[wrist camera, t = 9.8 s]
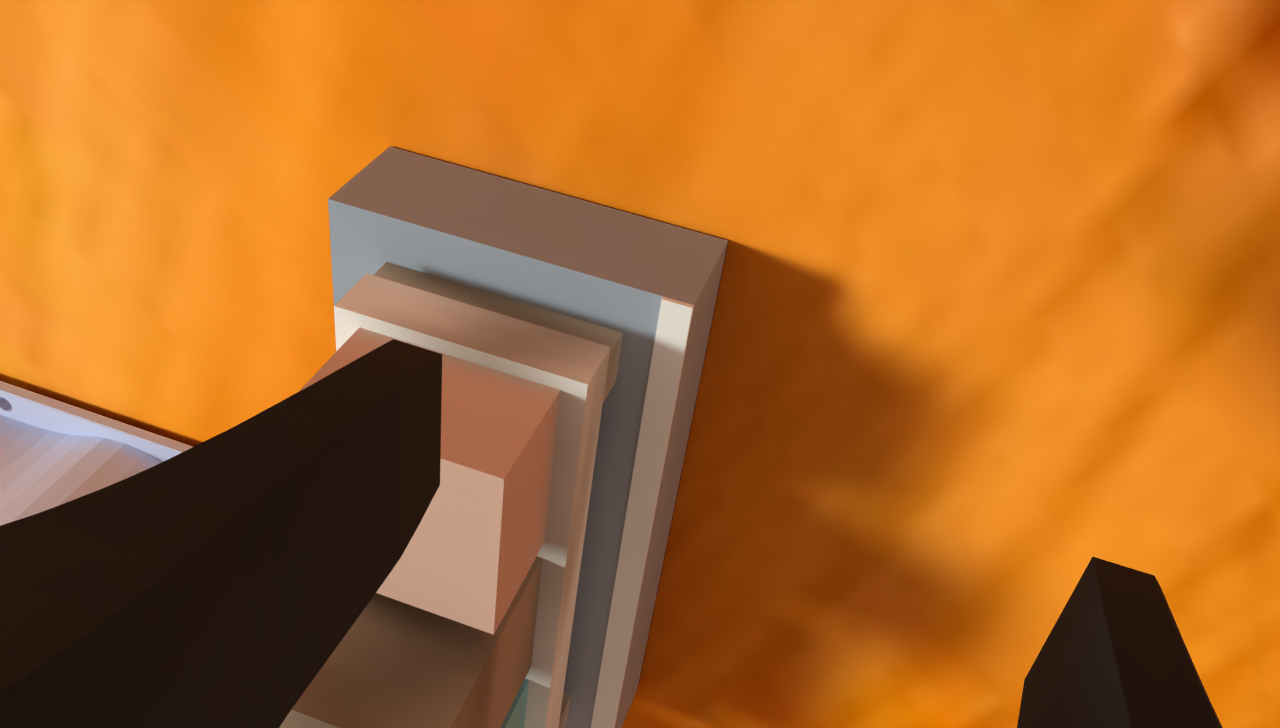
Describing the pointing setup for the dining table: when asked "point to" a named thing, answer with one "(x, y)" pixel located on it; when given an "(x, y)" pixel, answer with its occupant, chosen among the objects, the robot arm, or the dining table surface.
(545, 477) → the block
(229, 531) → the robot arm
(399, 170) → the dock
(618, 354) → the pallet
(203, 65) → the dining table surface
